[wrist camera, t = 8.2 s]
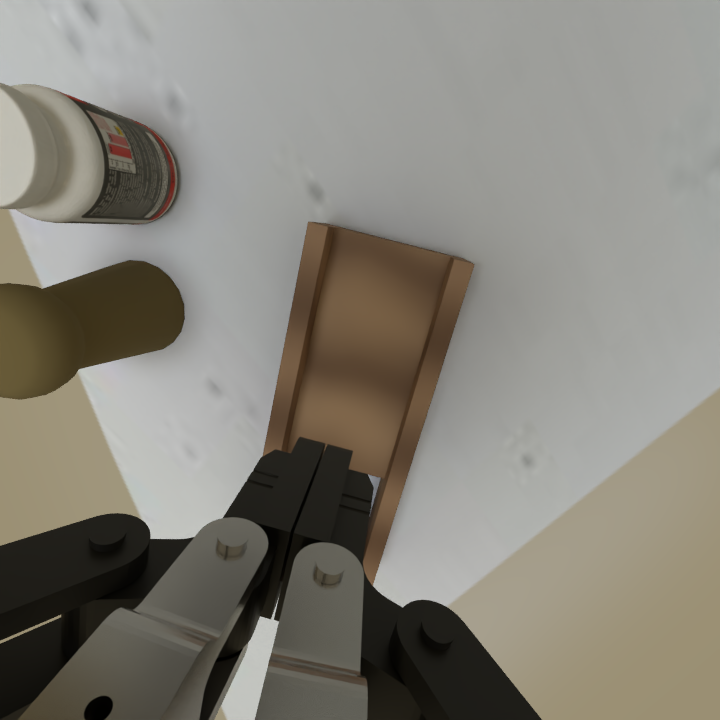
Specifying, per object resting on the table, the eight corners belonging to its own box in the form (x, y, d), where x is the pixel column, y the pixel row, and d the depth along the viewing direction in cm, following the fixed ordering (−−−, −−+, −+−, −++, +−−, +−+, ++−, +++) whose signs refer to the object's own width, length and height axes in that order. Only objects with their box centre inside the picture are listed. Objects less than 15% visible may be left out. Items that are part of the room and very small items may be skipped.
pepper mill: (203, 313, 28) (80, 362, 18) (145, 369, 30) (0, 444, 19) (135, 239, 27) (-38, 245, 17) (79, 301, 29) (-111, 341, 18)
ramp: (325, 223, 26) (308, 221, 21) (463, 258, 25) (474, 264, 21) (262, 525, 32) (240, 569, 28) (372, 556, 32) (366, 605, 28)
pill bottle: (153, 104, 25) (-5, 27, 15) (197, 203, 26) (76, 187, 17) (73, 146, 26) (-120, 98, 17) (119, 238, 27) (-35, 243, 18)
